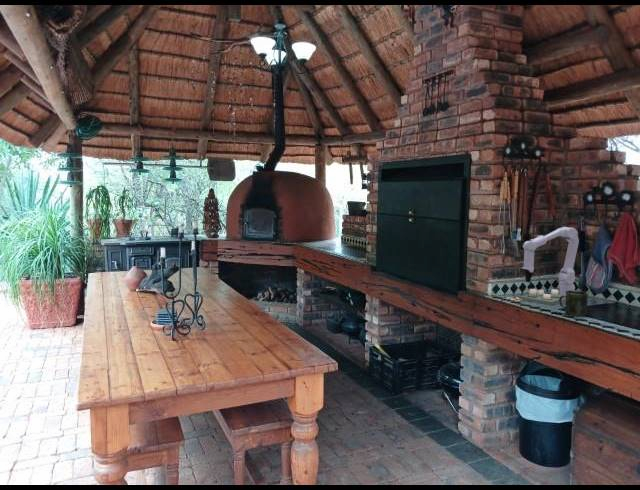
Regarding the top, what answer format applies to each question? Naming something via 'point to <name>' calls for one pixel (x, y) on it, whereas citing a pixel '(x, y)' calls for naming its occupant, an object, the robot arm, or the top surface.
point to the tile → (515, 298)
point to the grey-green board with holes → (540, 299)
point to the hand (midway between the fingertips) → (528, 282)
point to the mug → (575, 302)
